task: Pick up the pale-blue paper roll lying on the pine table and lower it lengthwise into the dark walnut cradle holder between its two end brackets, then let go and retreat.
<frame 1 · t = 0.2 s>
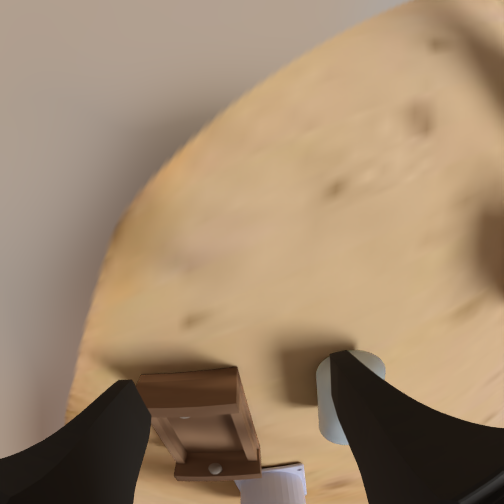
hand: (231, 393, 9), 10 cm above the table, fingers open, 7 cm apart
holder: (205, 417, 22), on the table
roll: (341, 379, 21), on the table
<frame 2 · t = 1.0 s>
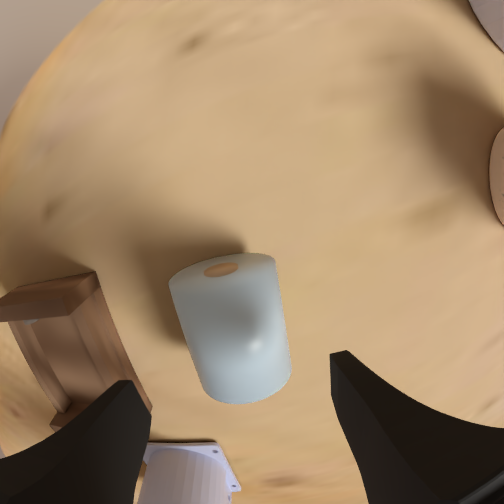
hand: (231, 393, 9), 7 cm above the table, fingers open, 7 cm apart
holder: (79, 350, 17), on the table
soap bottle: (497, 20, 11), on the table
roll: (235, 305, 16), on the table
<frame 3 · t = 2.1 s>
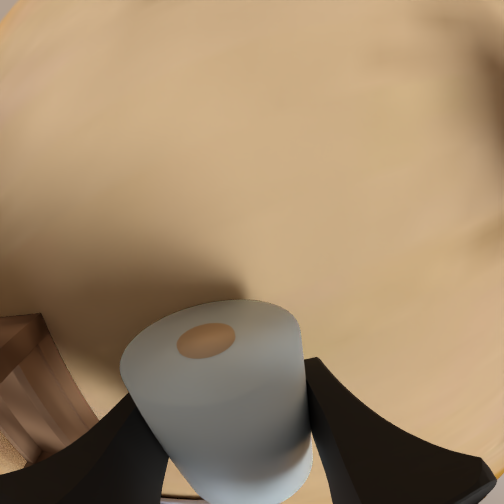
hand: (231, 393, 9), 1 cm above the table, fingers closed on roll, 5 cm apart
holder: (40, 400, 11), on the table
roll: (232, 368, 11), on the table, touching gripper
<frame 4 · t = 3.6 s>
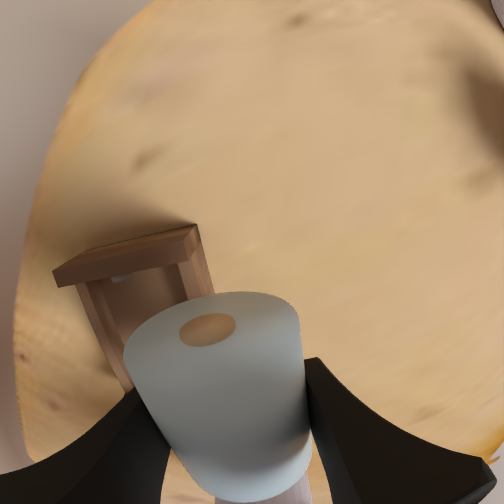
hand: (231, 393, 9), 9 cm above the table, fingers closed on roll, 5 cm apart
holder: (160, 318, 18), on the table
roll: (237, 360, 11), point 7 cm above the table, touching gripper
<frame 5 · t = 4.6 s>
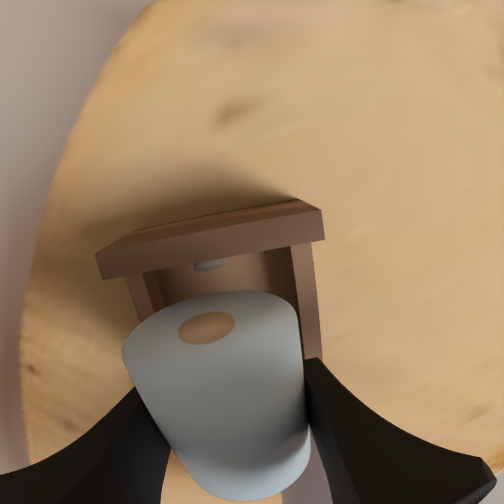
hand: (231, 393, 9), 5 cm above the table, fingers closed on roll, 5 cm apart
holder: (235, 320, 15), on the table
roll: (237, 358, 11), point 4 cm above the table, tilted 6°, touching gripper
when the fingers open (4 cm above the table, at t = 5.4 s): roll drops 1 cm, resting on holder.
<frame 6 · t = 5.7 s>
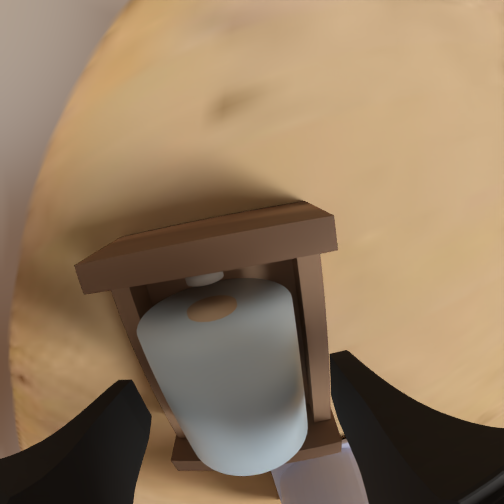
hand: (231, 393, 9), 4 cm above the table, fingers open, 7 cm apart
holder: (234, 334, 13), on the table
roll: (238, 342, 12), point 1 cm above the table, touching holder
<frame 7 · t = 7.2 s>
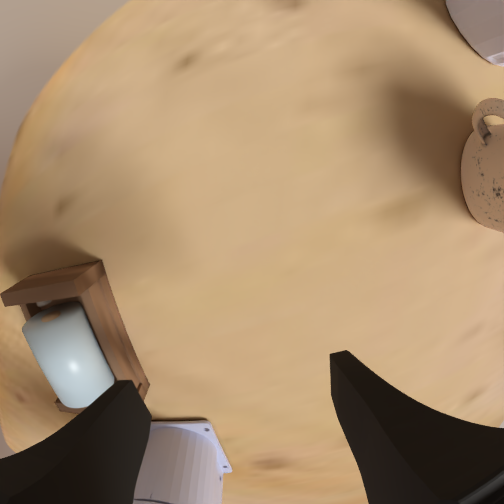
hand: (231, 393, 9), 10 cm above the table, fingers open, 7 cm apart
holder: (85, 332, 20), on the table
beige mug: (481, 164, 17), on the table
soap bottle: (477, 25, 13), on the table
roll: (81, 337, 19), point 1 cm above the table, touching holder
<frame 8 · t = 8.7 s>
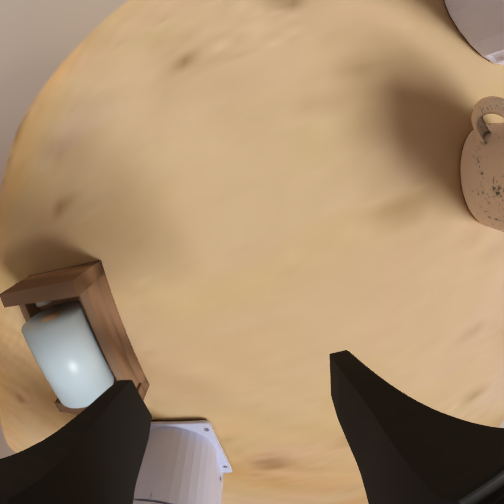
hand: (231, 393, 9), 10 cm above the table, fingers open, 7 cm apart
holder: (84, 333, 20), on the table
beige mug: (480, 163, 17), on the table
soap bottle: (476, 24, 13), on the table
roll: (80, 337, 19), point 1 cm above the table, touching holder
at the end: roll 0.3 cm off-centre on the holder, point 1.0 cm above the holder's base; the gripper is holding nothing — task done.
